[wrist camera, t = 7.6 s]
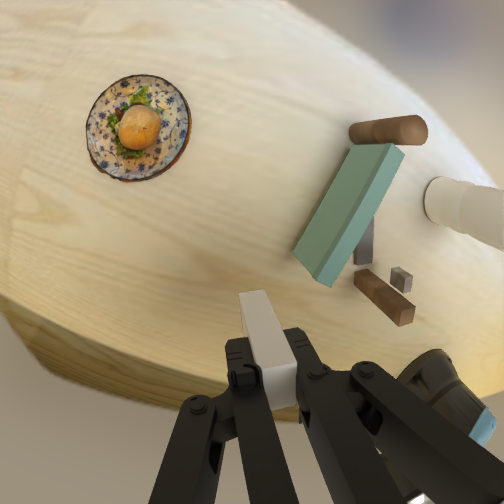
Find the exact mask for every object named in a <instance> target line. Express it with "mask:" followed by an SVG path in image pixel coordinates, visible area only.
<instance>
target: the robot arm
mask: <svg viewBox="0 0 504 504" xmlns="http://www.w3.org/2000/svg"><path fill="white" fill-rule="evenodd" d="M239 301H240V309H241V317H242V325H243V332H244V336H245V337H244V338H237V339H230V340H228V341H227V343H226V345H225V352H226V359H227V366H228V374H227V376H228V381H229V387H228V389H227V390H226V391H225V392H224V393H223V394H221V395H219V396H217V397H214V398H212V399H211V398H210V397H208V396H205V395H194V396H192V397H189V398H188V399H186V400H185V401H184V402H183V404H182V406H181V408H180V411H179V414H178V417H177V420H176V423H175V426H174V429H173V432H172V434H171V437H170V441H169V443H168V446H167V449H166V452H165V455H164V458H163V461H162V464H161V467H160V470H159V473H158V476H157V479H156V482H155V485H154V488H153V491H152V494H151V497H150V500H149V503H148V504H214V503H215V498H216V492H217V487H218V481H219V476H220V471H221V465H222V460H223V454H224V448H225V442H226V441H229V440H231V439H233V438H236V437H238V441H239V447H240V453H241V458H242V464H243V469H244V474H245V480H246V485H247V490H248V495H249V500H250V504H299V501H298V498H297V495H296V492H295V489H294V486H293V483H292V479H291V476H290V473H289V469H288V466H287V463H286V460H285V457H284V453H283V450H282V447H281V443H280V440H279V436H278V433H277V430H276V426H275V423H274V420H273V416H272V413H271V411H272V410H277V409H282V408H287V407H291V406H296V399H297V401H298V404H299V424H301V423H302V422H303V425H304V427H305V430H306V433H307V435H308V438H309V441H310V443H311V446H312V448H313V451H314V454H315V456H316V459H317V461H318V464H319V467H320V469H321V472H322V474H323V477H324V479H325V482H326V485H327V487H328V490H329V492H330V495H331V497H332V500H333V502H334V504H504V463H503V462H502V461H500V460H499V459H498V458H496V457H495V456H494V455H492V454H491V453H490V452H489V451H487V450H486V449H485V448H483V446H484V445H485V444H486V443H487V441H488V440H489V439H490V437H491V436H492V434H493V432H494V430H495V428H496V425H497V423H496V422H497V421H496V419H495V417H494V416H493V415H492V413H491V412H490V411H489V409H488V407H486V406H485V405H484V404H483V403H482V402H481V401H480V400H479V399H478V398H477V396H476V395H475V394H474V393H473V392H472V391H471V390H470V389H469V388H468V387H467V386H466V385H465V384H464V383H463V382H462V381H461V380H460V379H459V377H458V374H457V372H456V370H455V368H454V366H453V364H452V361H451V359H450V357H449V356H448V355H447V354H446V353H445V352H444V351H443V350H441V349H435V350H431V351H429V352H427V353H425V354H423V355H422V356H420V357H419V358H417V359H416V360H415V361H414V362H412V363H411V364H410V365H409V366H408V367H407V368H406V369H405V370H404V371H403V373H402V374H401V375H400V376H399V378H398V379H397V380H396V379H395V378H394V377H392V376H391V375H390V374H389V373H387V372H386V371H385V370H384V369H382V368H381V367H380V366H379V365H377V364H375V363H374V362H370V361H361V362H358V363H356V364H355V365H354V366H353V367H352V369H351V371H335V370H331V368H330V367H329V366H327V365H325V364H323V363H322V362H321V360H320V359H319V357H318V355H317V353H316V351H315V350H314V348H313V346H312V345H311V342H310V341H309V340H308V337H307V335H306V333H305V332H304V331H302V330H301V329H299V328H298V327H297V328H292V329H286V330H282V328H281V325H280V323H279V321H278V319H277V317H276V314H275V312H274V310H273V308H272V305H271V303H270V301H269V299H268V296H267V294H266V292H265V290H264V289H261V290H254V291H248V292H241V293H239ZM374 445H375V446H374ZM376 448H377V449H379V451H380V452H381V453H382V454H379V453H378V451H377V449H376Z"/></svg>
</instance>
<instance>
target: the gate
mask: <svg viewBox="0 0 504 504" xmlns="http://www.w3.org/2000/svg"><path fill="white" fill-rule="evenodd" d="M404 156H405V154H404V153H403V152H402V151H400V150H399V149H398V148H397V147H396V146H395V145H394V144H393V143H386V144H376V145H353V146H352V148H351V149H350V151H349V153H348V155H347V157H346V159H345V160H344V162H343V164H342V166H341V168H340V170H339V171H338V173H337V175H336V177H335V179H334V180H333V182H332V184H331V186H330V188H329V189H328V191H327V193H326V195H325V197H324V198H323V200H322V202H321V204H320V205H319V207H318V209H317V211H316V212H315V214H314V216H313V218H312V219H311V221H310V223H309V225H308V226H307V228H306V230H305V231H304V233H303V235H302V237H301V238H300V240H299V242H298V243H297V245H296V247H295V249H294V250H293V252H292V253H293V254H294V255H295V256H296V258H297V259H298V260H299V261H300V262H301V263H302V264H303V266H304V267H305V268H306V269H307V270H308V271H309V272H310V274H311V275H312V277H313V278H314V279H315V280H316V281H318V282H320V283H322V284H324V285H326V286H328V287H330V288H331V286H332V285H333V283H334V282H335V280H336V278H337V277H338V275H339V274H340V272H341V270H342V269H343V267H344V266H345V264H346V262H347V261H348V259H349V257H350V256H351V254H352V252H353V251H354V249H355V247H356V246H357V244H358V242H359V240H360V239H361V237H362V235H363V234H364V232H365V230H366V228H367V226H368V225H369V223H370V221H371V219H372V218H373V216H374V214H375V212H376V210H377V208H378V207H379V205H380V203H381V201H382V199H383V197H384V195H385V193H386V192H387V190H388V188H389V186H390V184H391V182H392V180H393V178H394V176H395V174H396V172H397V170H398V168H399V166H400V164H401V162H402V160H403V158H404Z"/></svg>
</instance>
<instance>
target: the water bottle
mask: <svg viewBox="0 0 504 504" xmlns="http://www.w3.org/2000/svg"><path fill="white" fill-rule="evenodd" d="M425 210H426V213H427V215H428V217H429V219H430V220H431V221H432V222H434V223H436V224H439V225H441V226H445V227H450V228H451V229H453V230H455V231H457V232H459V233H463V234H468V235H470V236H471V237H473V238H475V239H477V240H479V241H481V242H483V243H485V244H487V245H490V246H492V247H494V248H496V249H499V250H501V251H504V190H500V189H496V188H492V187H486V186H478V185H475V184H473V183H470V182H466V181H457V180H454V179H451V178H446V177H438V178H436V179H434V180H433V181H432V182H431V183H430V184H429V186H428V188H427V191H426V194H425Z"/></svg>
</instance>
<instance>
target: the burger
mask: <svg viewBox="0 0 504 504" xmlns="http://www.w3.org/2000/svg"><path fill="white" fill-rule="evenodd" d="M191 125H192V119H191V113H190V109H189V106H188V103H187V101H186V99H185V98H184V96H183V95H182V93H181V92H180V91H179V90H178V89H177V88H176V87H175V86H174V85H173V84H172V83H170V82H169V81H167V80H165V79H163V78H161V77H158V76H153V75H147V74H141V75H131V76H127V77H124V78H122V79H120V80H118V81H116V82H114V83H113V84H112V85H111V86H110V87H108V88H107V89H106V90H105V91H103V92H102V93H101V95H100V96H99V97H98V99H97V100H96V102H95V103H94V105H93V107H92V109H91V111H90V114H89V116H88V119H87V122H86V137H87V150H88V151H89V154H90V157H91V158H90V159H91V161H92V163H93V164H94V166H95V167H96V168H97V169H98V170H99V171H100V172H102V173H107V174H108V175H110V176H111V178H114V179H119V180H120V181H123V182H137V181H143V180H149V179H152V178H154V177H156V176H159V175H161V174H162V173H163V172H165V171H166V170H168V169H169V168H171V166H173V165H174V164H175V163H176V162H177V161H178V159H179V158H180V156H181V155H182V153H183V152H184V150H185V148H186V146H187V144H188V142H189V138H190V134H191Z"/></svg>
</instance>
